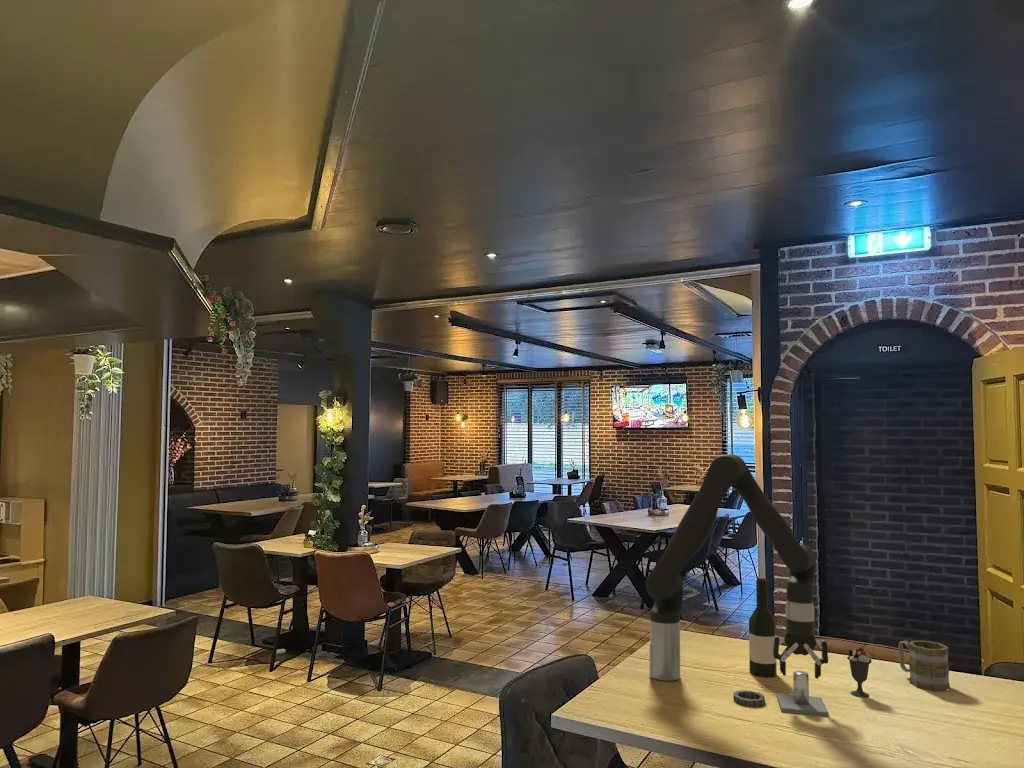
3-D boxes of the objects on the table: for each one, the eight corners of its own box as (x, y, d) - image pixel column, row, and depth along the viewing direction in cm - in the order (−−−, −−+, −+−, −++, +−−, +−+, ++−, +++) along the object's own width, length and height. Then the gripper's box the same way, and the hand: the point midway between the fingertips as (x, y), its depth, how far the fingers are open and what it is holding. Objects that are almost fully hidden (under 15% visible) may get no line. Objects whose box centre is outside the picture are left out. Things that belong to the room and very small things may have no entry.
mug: (958, 689, 216) (957, 648, 217) (933, 693, 212) (931, 651, 213) (912, 673, 231) (911, 635, 232) (887, 677, 227) (886, 638, 228)
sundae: (875, 699, 206) (874, 646, 208) (850, 697, 208) (849, 644, 209) (869, 691, 213) (868, 639, 214) (845, 689, 214) (843, 638, 215)
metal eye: (734, 704, 201) (734, 699, 201) (732, 694, 209) (732, 689, 209) (765, 707, 199) (765, 702, 199) (763, 697, 207) (763, 692, 207)
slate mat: (781, 711, 196) (781, 707, 196) (776, 696, 208) (776, 693, 208) (828, 716, 193) (828, 712, 193) (821, 701, 205) (821, 697, 205)
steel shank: (794, 704, 199) (794, 674, 200) (792, 699, 203) (792, 670, 204) (810, 705, 198) (809, 676, 199) (807, 700, 202) (807, 671, 203)
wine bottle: (773, 670, 232) (771, 575, 235) (780, 678, 224) (778, 580, 226) (746, 668, 233) (745, 575, 235) (752, 677, 225) (751, 579, 227)
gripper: (774, 618, 201) (774, 677, 199) (829, 622, 197) (830, 683, 196) (771, 612, 208) (772, 669, 207) (824, 616, 204) (825, 674, 203)
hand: (800, 676), depth 201 cm, fingers open, 8 cm apart
